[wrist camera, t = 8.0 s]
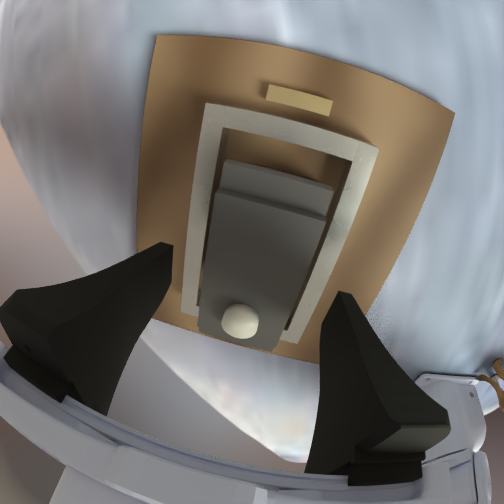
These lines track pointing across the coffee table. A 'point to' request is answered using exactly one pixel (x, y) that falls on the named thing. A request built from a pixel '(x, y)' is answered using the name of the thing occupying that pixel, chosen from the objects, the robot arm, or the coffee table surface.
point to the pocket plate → (283, 165)
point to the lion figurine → (495, 381)
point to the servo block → (259, 251)
